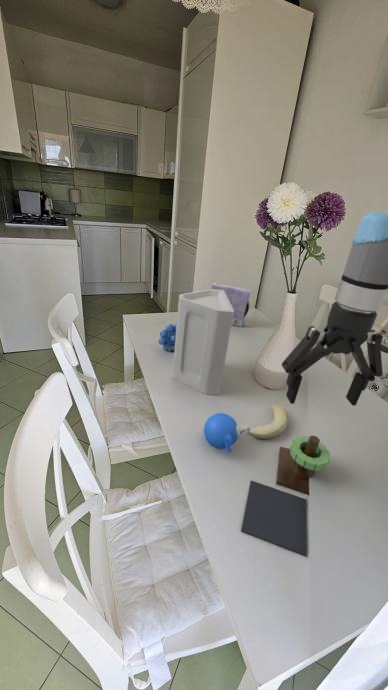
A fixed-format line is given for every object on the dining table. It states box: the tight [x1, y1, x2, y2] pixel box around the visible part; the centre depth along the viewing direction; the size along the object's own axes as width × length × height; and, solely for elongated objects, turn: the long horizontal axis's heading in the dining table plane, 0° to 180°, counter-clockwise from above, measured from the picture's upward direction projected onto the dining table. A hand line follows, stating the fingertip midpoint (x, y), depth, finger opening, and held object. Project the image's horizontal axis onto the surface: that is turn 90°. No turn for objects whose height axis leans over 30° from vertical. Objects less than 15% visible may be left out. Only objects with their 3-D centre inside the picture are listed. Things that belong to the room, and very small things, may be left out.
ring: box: [289, 435, 331, 472], centre depth 68 cm, size 8×8×2 cm
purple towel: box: [210, 282, 251, 328], centre depth 144 cm, size 19×5×18 cm, turn 72°
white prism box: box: [172, 288, 234, 396], centre depth 96 cm, size 19×15×28 cm
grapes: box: [158, 322, 177, 352], centre depth 115 cm, size 12×7×12 cm, turn 94°
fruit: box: [247, 403, 289, 440], centre depth 84 cm, size 7×15×3 cm, turn 138°
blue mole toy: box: [203, 412, 251, 454], centre depth 76 cm, size 12×12×8 cm
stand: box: [275, 435, 321, 496], centre depth 69 cm, size 11×11×11 cm
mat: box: [240, 479, 307, 557], centre depth 62 cm, size 12×12×1 cm
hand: (320, 400), depth 64 cm, fingers open, 13 cm apart
